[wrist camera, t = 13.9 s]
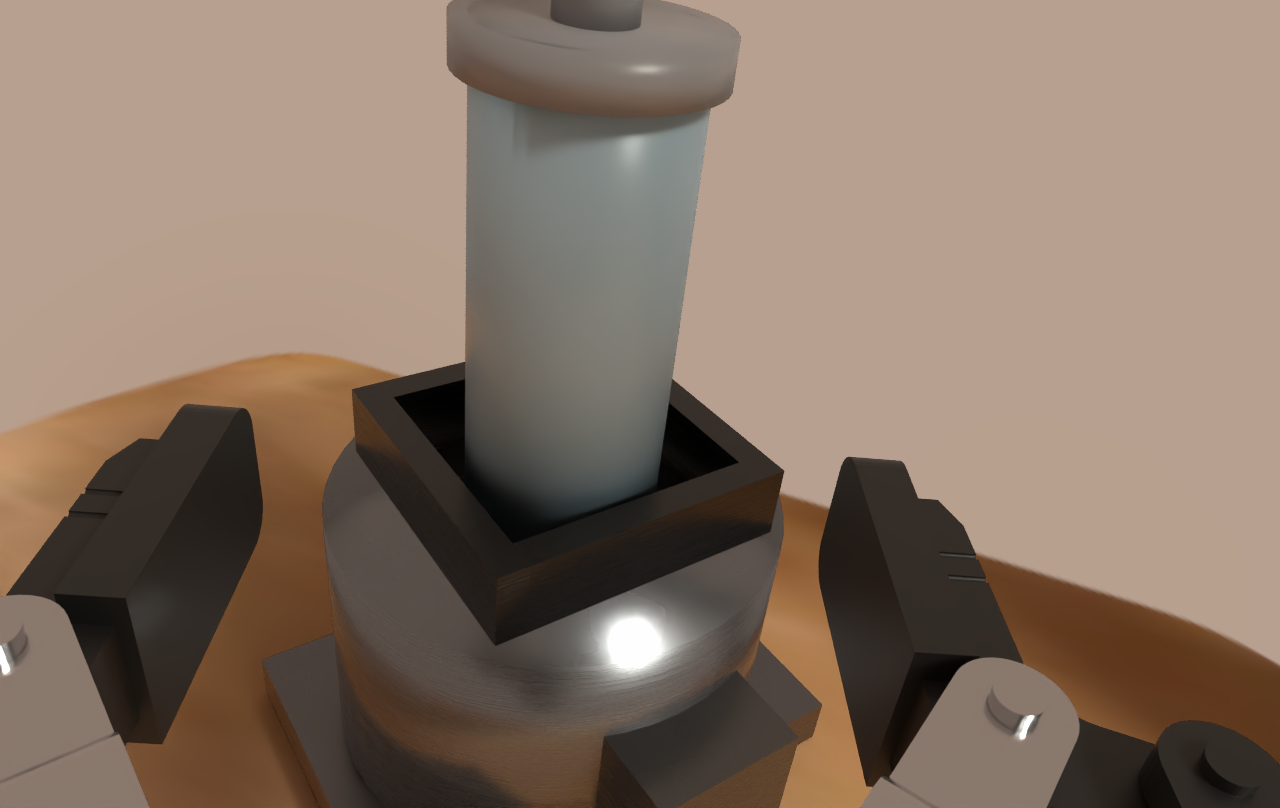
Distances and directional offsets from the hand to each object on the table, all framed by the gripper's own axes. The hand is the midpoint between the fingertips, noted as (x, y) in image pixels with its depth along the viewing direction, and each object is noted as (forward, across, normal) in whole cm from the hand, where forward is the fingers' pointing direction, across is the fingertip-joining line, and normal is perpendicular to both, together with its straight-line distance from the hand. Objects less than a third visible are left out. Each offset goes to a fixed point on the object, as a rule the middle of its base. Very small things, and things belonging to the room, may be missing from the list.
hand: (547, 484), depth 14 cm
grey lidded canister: (+10, 0, +8) cm, 13 cm away
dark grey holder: (+10, 0, +17) cm, 20 cm away
